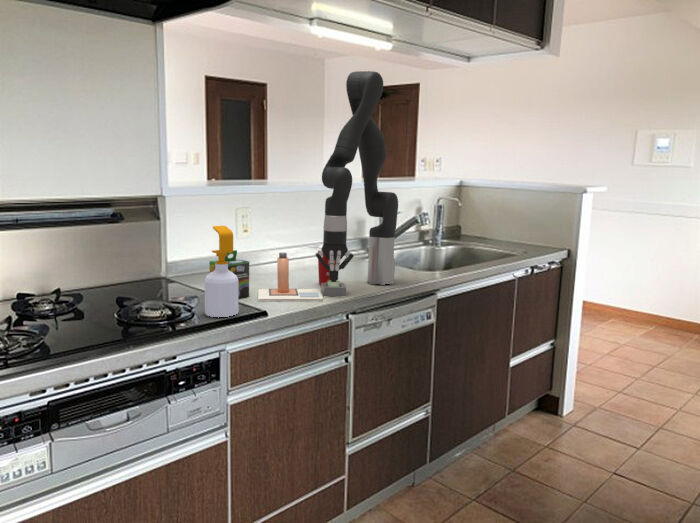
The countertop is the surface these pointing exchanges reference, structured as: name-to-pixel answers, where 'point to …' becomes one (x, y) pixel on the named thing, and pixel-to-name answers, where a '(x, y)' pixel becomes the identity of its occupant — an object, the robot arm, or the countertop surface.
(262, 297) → the board
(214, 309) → the soap bottle
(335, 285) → the button
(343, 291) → the frame
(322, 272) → the paper cup
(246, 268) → the chalk box
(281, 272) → the orange bottle with cap
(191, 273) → the countertop surface
